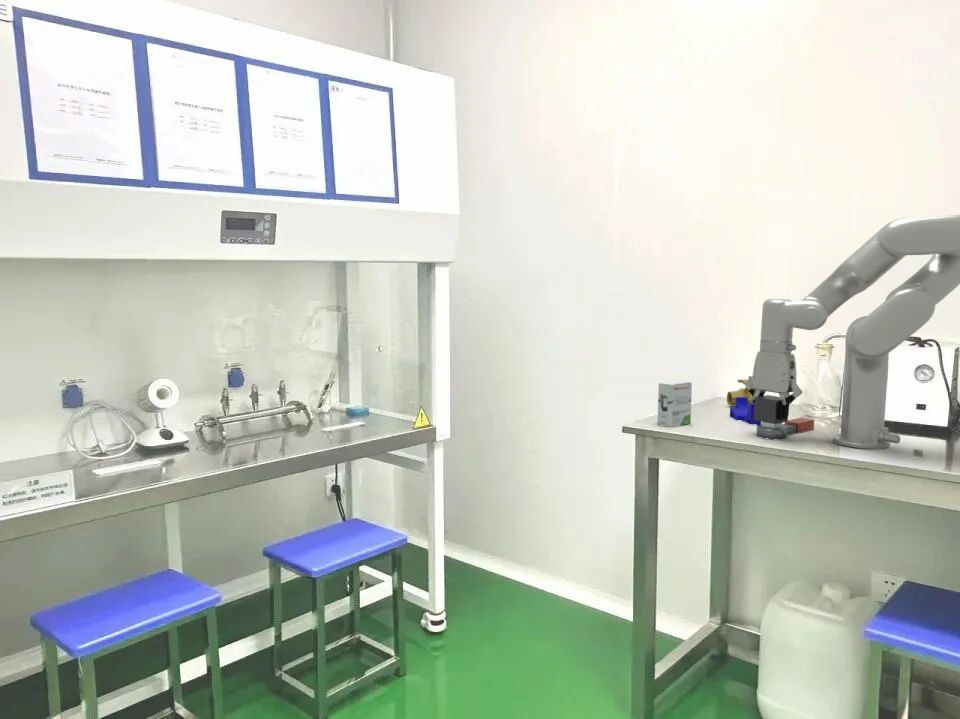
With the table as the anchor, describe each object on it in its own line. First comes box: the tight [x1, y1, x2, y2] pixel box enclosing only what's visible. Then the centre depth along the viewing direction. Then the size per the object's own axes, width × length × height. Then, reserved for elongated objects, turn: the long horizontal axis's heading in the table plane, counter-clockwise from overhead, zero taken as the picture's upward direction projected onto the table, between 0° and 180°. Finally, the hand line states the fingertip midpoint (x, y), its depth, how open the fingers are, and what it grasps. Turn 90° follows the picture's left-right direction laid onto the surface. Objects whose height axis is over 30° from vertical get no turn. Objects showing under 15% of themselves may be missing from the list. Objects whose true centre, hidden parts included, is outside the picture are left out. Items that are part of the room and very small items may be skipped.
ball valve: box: [726, 375, 755, 408], centre depth 239 cm, size 13×10×10 cm
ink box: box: [657, 380, 693, 428], centre depth 212 cm, size 9×5×12 cm, turn 124°
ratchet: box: [756, 417, 815, 440], centre depth 202 cm, size 21×7×6 cm, turn 128°
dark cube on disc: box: [754, 394, 789, 424], centre depth 197 cm, size 6×6×6 cm
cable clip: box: [729, 397, 762, 426], centre depth 218 cm, size 12×4×6 cm, turn 2°
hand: (770, 416), depth 197 cm, fingers closed on dark cube on disc, 6 cm apart
